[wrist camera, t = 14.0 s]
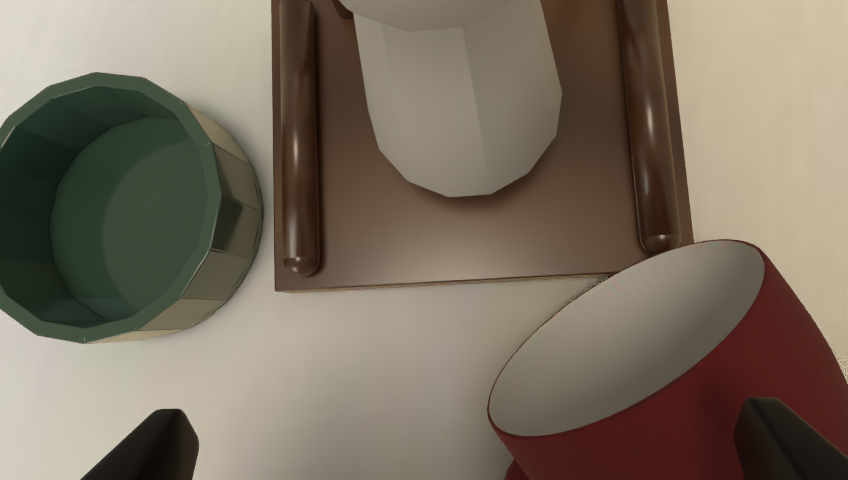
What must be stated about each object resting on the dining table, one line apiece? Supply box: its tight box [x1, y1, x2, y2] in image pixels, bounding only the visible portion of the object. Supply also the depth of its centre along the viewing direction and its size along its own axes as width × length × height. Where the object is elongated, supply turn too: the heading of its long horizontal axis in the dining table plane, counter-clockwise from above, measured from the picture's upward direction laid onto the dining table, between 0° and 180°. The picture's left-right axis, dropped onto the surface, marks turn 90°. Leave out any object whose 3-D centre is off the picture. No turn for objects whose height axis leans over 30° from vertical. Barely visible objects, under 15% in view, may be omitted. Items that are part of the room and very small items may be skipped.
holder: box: [0, 72, 262, 344], centre depth 21 cm, size 9×9×4 cm
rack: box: [271, 0, 694, 293], centre depth 18 cm, size 11×14×6 cm
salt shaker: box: [339, 0, 562, 197], centre depth 13 cm, size 6×6×13 cm
